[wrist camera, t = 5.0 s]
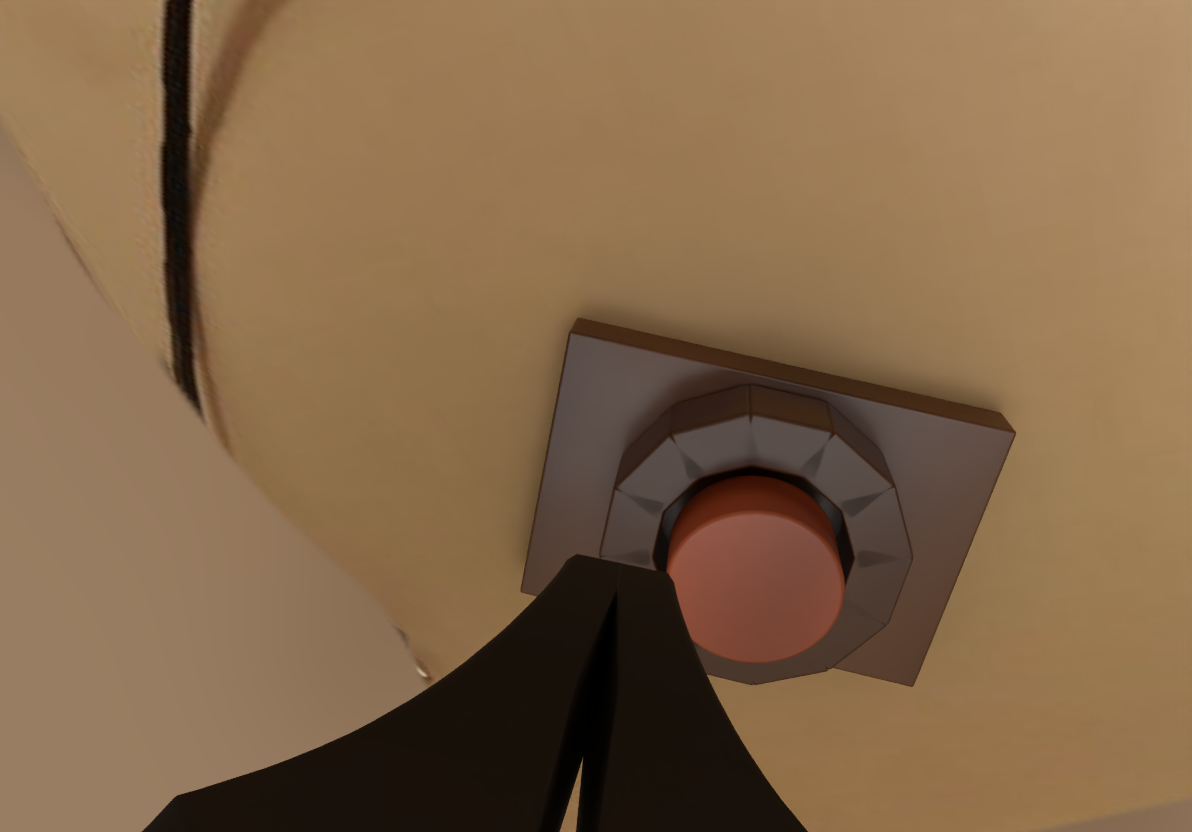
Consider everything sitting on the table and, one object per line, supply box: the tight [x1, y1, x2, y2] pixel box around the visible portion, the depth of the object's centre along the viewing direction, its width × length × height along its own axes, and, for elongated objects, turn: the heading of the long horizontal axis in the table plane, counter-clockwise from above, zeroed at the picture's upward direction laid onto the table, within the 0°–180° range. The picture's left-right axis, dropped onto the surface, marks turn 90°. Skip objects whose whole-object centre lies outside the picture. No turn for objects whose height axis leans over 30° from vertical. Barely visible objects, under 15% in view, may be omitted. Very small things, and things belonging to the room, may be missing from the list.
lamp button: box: [666, 475, 845, 663], centre depth 19 cm, size 4×4×2 cm
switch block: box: [520, 318, 1016, 687], centre depth 21 cm, size 10×7×3 cm
